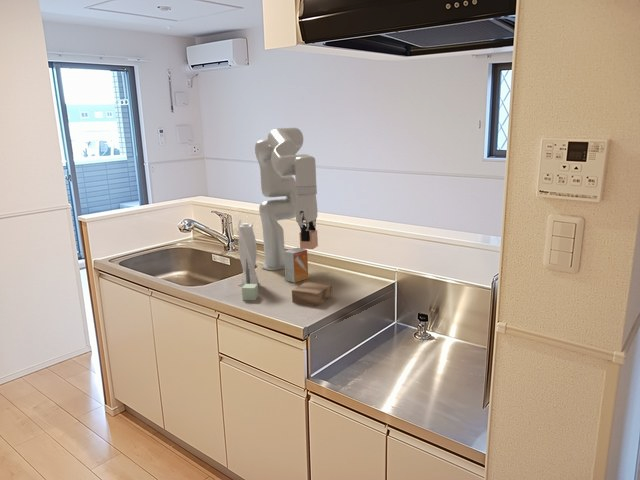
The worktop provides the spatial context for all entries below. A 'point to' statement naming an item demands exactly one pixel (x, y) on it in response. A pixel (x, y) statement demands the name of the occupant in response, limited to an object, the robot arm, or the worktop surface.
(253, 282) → the skyscraper
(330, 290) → the walnut block
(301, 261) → the small box
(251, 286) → the sage cube
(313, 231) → the terracotta block
